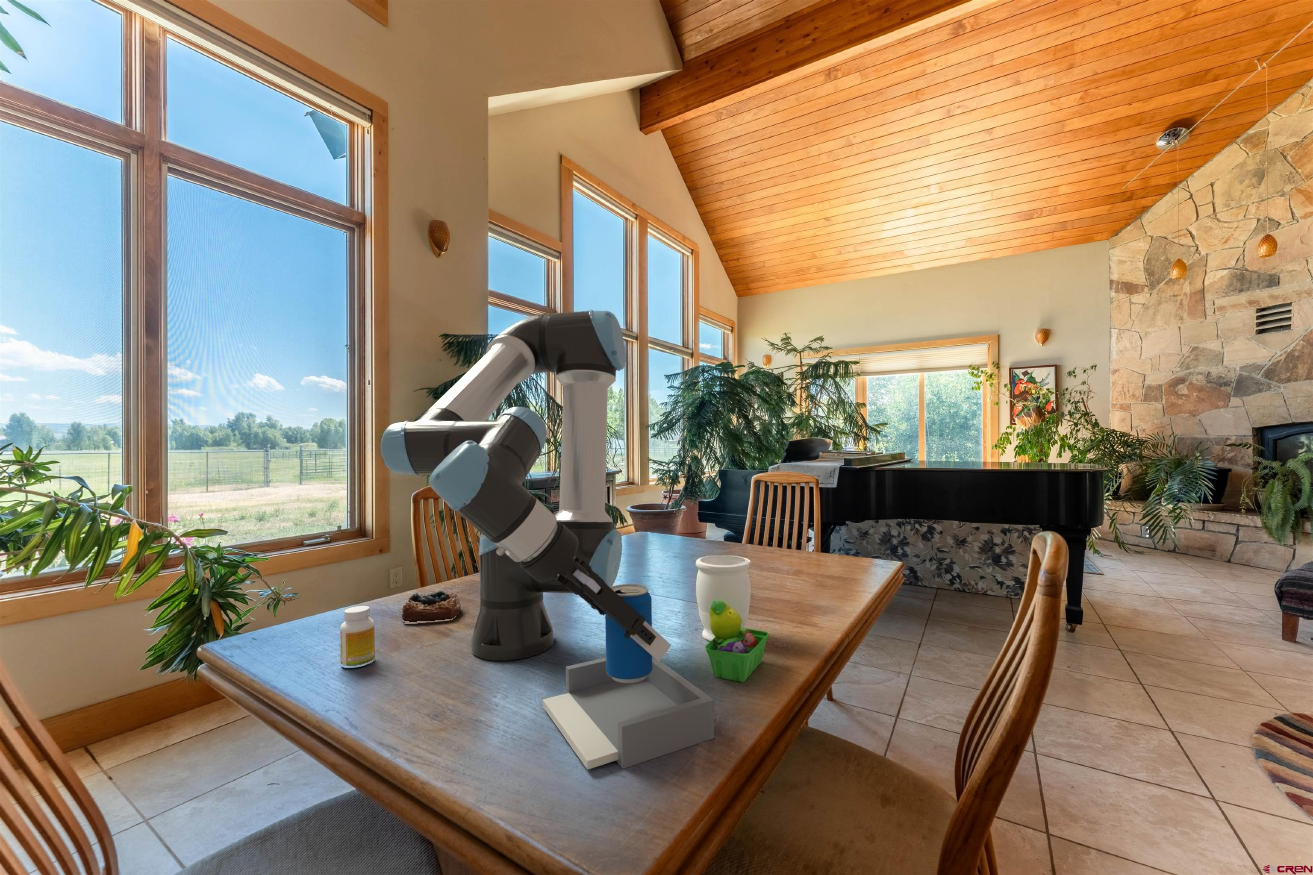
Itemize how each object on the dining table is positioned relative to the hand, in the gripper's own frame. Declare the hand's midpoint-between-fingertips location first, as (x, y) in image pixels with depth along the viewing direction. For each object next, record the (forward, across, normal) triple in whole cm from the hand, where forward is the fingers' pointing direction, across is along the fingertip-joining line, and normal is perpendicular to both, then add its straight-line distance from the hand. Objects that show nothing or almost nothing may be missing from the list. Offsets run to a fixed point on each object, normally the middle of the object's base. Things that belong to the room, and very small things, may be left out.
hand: (651, 644), depth 79 cm
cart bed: (+4, 0, -10) cm, 11 cm away
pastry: (-8, -63, -23) cm, 68 cm away
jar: (+26, -19, +12) cm, 34 cm away
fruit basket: (+21, -6, +6) cm, 23 cm away
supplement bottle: (-19, -42, -33) cm, 57 cm away
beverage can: (0, 0, -5) cm, 5 cm away
